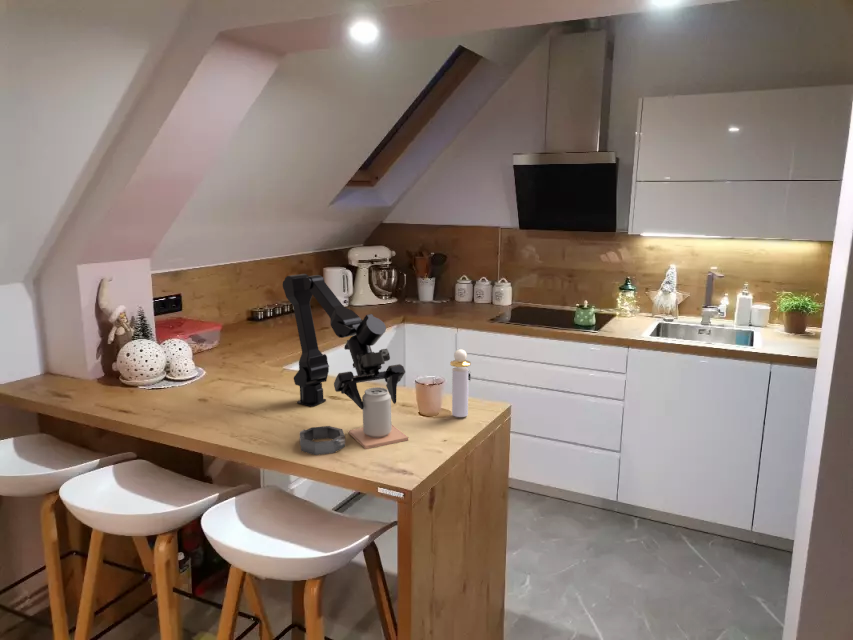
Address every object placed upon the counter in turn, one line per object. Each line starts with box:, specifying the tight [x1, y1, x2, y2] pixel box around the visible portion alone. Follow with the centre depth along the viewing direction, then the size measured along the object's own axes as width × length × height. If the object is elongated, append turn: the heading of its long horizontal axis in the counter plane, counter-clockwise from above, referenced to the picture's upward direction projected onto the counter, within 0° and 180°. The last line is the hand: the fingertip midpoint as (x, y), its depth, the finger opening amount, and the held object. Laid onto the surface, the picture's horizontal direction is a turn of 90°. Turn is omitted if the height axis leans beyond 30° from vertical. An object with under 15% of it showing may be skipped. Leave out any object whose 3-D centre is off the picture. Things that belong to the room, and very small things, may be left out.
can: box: [361, 386, 393, 438], centre depth 170 cm, size 8×8×12 cm
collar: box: [299, 425, 346, 456], centre depth 165 cm, size 13×11×3 cm
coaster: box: [348, 423, 409, 450], centre depth 171 cm, size 12×12×1 cm
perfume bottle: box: [449, 348, 472, 418], centre depth 183 cm, size 6×6×20 cm
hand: (379, 405), depth 168 cm, fingers open, 9 cm apart
